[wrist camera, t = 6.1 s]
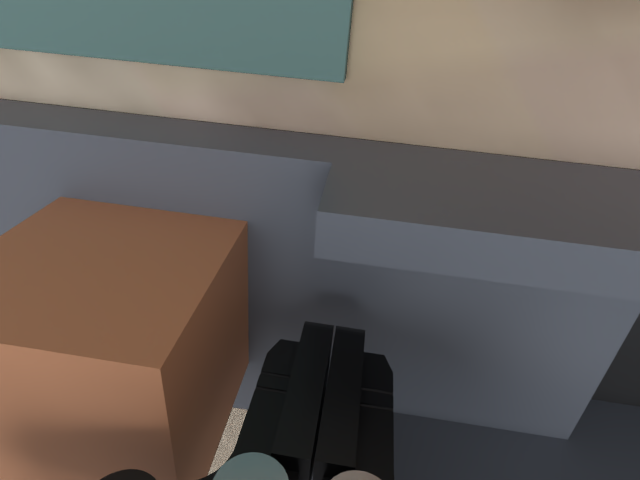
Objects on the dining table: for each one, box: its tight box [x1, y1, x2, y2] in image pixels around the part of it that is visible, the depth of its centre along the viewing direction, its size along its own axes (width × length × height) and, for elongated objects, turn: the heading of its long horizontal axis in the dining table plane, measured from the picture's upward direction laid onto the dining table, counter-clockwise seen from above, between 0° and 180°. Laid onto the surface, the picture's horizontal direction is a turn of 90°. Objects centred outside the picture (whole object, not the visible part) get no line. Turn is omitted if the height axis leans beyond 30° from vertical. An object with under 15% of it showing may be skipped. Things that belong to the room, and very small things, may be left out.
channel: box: [0, 99, 640, 480], centre depth 12 cm, size 28×9×4 cm, turn 86°
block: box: [0, 197, 249, 480], centre depth 10 cm, size 5×5×5 cm
